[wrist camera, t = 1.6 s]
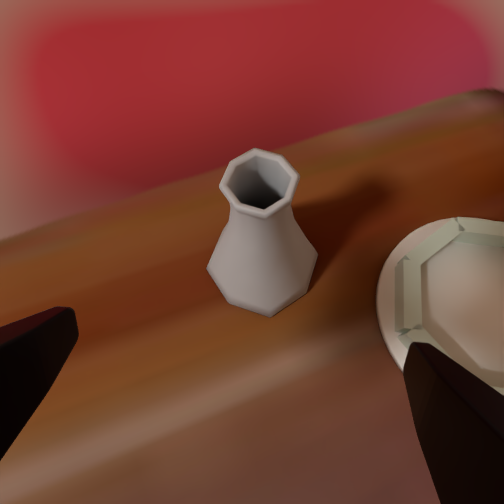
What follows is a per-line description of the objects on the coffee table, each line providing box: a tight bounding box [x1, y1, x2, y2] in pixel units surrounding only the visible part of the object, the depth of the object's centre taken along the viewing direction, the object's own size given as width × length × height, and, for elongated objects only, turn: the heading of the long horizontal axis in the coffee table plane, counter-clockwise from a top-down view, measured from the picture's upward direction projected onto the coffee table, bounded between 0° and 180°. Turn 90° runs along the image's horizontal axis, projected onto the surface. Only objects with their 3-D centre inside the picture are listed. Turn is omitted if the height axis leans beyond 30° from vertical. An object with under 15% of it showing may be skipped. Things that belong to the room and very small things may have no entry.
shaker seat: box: [376, 217, 504, 395], centre depth 20 cm, size 13×13×2 cm
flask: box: [207, 148, 318, 317], centre depth 19 cm, size 7×7×10 cm
